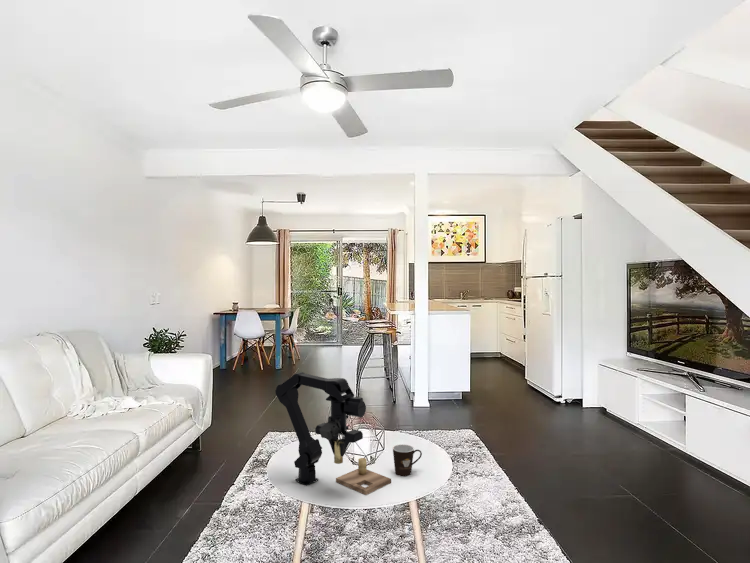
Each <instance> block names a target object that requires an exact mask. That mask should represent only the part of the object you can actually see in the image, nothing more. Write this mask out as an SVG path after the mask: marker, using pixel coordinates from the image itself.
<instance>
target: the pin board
mask: <svg viewBox="0 0 750 563" xmlns="http://www.w3.org/2000/svg"><path fill="white" fill-rule="evenodd" d="M357 461H358V466H357V467H358V468H355V469H353V470H352V471H349V472H347V473H344V474H342V475H339V476H338V477H337V476H336V477H335V482H336V483H338V484H340V485H342V486H344V487H346V488H349V489H351V490H353V491H356V492H358V493H361V494H363V495H365V496H368V495H369V494H371V493H373V492H376V491H377V490H379V489H381V488H383V487H386V486H387V485H389V484H392V478H391V477H387V476H385V475H383V474H380V473H378V472H375V471H373V470H369V469H367V462H368V461H367V458H365V457H359V458H358V459H357ZM364 485H366V486H364Z"/></svg>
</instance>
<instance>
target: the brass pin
mask: <svg viewBox="0 0 750 563" xmlns="http://www.w3.org/2000/svg"><path fill="white" fill-rule="evenodd" d="M340 439H341V438H338V439H336V440H334V454H333V459H334V460H333V463H334V464H337V465H340V464H343V463H344V456H343V457H341V449H340V442H339V441H338V440H340Z"/></svg>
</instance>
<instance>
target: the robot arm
mask: <svg viewBox="0 0 750 563" xmlns="http://www.w3.org/2000/svg"><path fill="white" fill-rule="evenodd" d="M302 386H305V387H309V388H314V389H318V390H321V391H324V392H325V394H327V395H328V396H327V397H326V398H325V401H326V402H327V401H328V402H330V416H328V418H327V422H323V423H321V424H317V425H316V426H315V427H314V429H315V430H314V432H315V434H316V435H320V437H321V438H322V439H326V440H328V443H329V445H330V448H331V451H332V454H333V455H334V440H336V439H340V440H338V441H339V442H340V449H341V457H343V458H344V456H345V454H346V451H347V448H348V446H349V444H350V443H353V444H354V443H357V442H358V441H361V440H362V439H363V438H364V433H363V431H362V430H358V429H351V430H349V426H348V425H347V419H349V416H351V417H355V418H356V417H357V418H363V417H364V415H365V414H366V410H367V405H366V403H365V401H364V399H363V397H355V394H354V392H353V390H352V388H351V387H350V385H349V382H348V380H347V379H345V378H340V377H335V378H334V377H333V378H325V377H322V376H317V375H315V374H314V375H313V374H308V373H305V372H302V371H301V372H296V373H294V374H293V375H292V376H290V378H288V379H286V380H285V381H284V382H282V383H280V384H278V385H276V389H275V392H274V393H275V396H276V398H277V400H278V401H279V403H280V404H281V405H283V407H285V408H286V410H287V413H288V416H289V418H290V421H291V424H292V427H293V429H294V432H295V435H296V437H297V440H298V455H299V456H298V457H297V458H296V459H295V460H294V461H293V464H294V468H297V469H298V477H297V478H295V480H294V481H295V482H297V483H299V484H302V485H304V486H308V485H310V484H313V483H315V482H317V481H319V478H317V477H316V465H315V464H317V463H319V461H320V459H321V457H322V454H323V450H322V449H323V447H322V446H321V443H320V440H319V438H317V439H314V437H313V436H312V435H311V432H310V430H309V428H308V425H307V422H306V419H305V418H304V415H303V412H302V409H301V407H300V404H299V390H298V389H300V388H301V387H302ZM347 430H349V431H347ZM339 436H341V438H339Z"/></svg>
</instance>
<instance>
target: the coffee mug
mask: <svg viewBox="0 0 750 563" xmlns="http://www.w3.org/2000/svg"><path fill="white" fill-rule="evenodd" d="M417 452H419V453H420V454H419V456H418V458H417V459H416V460H413V459H414V455H415V453H417ZM392 454H393V463H394V471H395V472H394V473H395V475H396V476H399V477H408V476H411V474H412V469H413V465H414V464H416V463H417V462H418V461H419V460H420V459H421V458H422V455H423V452H422V450H420V449H415V448H414V446H412V445H409V444H397V445H393V446H392Z"/></svg>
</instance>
